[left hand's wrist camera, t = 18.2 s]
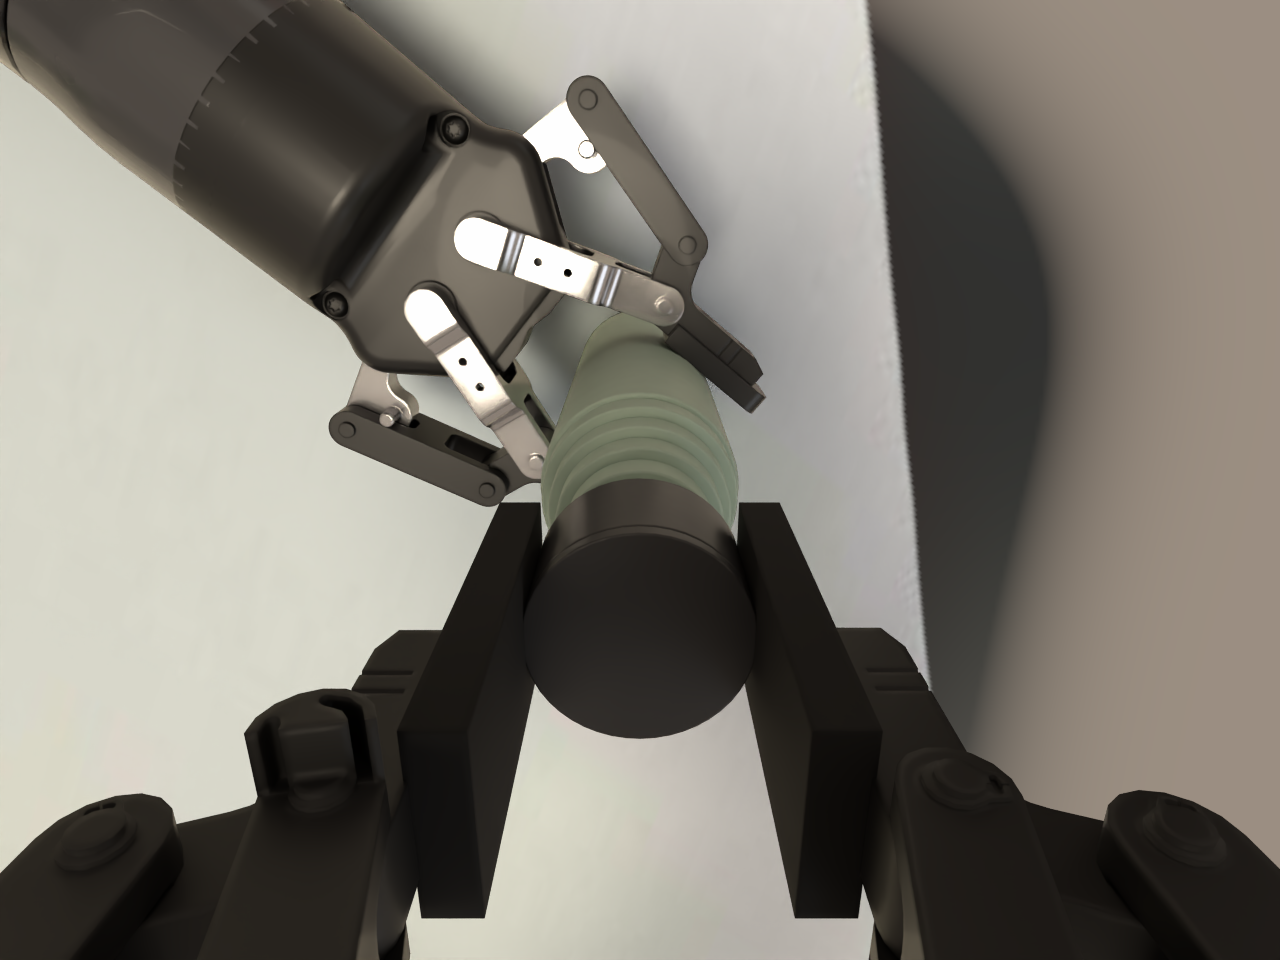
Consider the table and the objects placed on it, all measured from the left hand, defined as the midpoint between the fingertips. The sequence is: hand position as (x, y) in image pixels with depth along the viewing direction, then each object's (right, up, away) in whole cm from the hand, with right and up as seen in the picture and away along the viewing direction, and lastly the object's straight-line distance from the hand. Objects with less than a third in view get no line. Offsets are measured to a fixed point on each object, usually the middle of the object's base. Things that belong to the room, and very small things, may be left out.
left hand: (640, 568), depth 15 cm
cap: (0, -1, -2) cm, 2 cm away
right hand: (+2, +2, +11) cm, 12 cm away
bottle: (0, +6, +17) cm, 18 cm away
